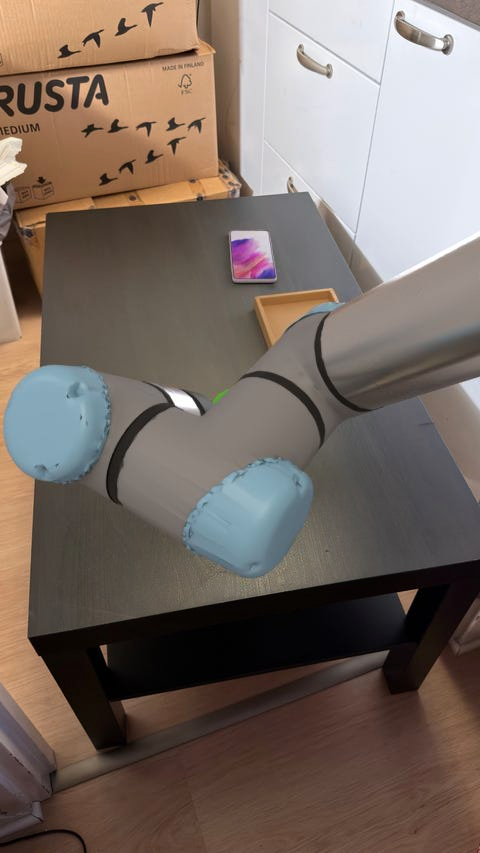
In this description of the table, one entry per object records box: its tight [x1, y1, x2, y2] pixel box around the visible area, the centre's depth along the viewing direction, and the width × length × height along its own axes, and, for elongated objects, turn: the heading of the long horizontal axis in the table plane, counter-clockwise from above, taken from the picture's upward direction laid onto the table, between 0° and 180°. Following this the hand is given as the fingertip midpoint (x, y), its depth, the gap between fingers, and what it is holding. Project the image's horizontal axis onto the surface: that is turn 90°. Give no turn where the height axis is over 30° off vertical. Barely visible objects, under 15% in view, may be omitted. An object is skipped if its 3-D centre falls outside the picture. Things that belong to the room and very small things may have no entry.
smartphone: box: [228, 229, 278, 284], centre depth 104 cm, size 7×1×15 cm
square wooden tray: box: [253, 287, 341, 350], centre depth 91 cm, size 12×12×2 cm
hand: (265, 439), depth 73 cm, fingers closed on cup, 8 cm apart
